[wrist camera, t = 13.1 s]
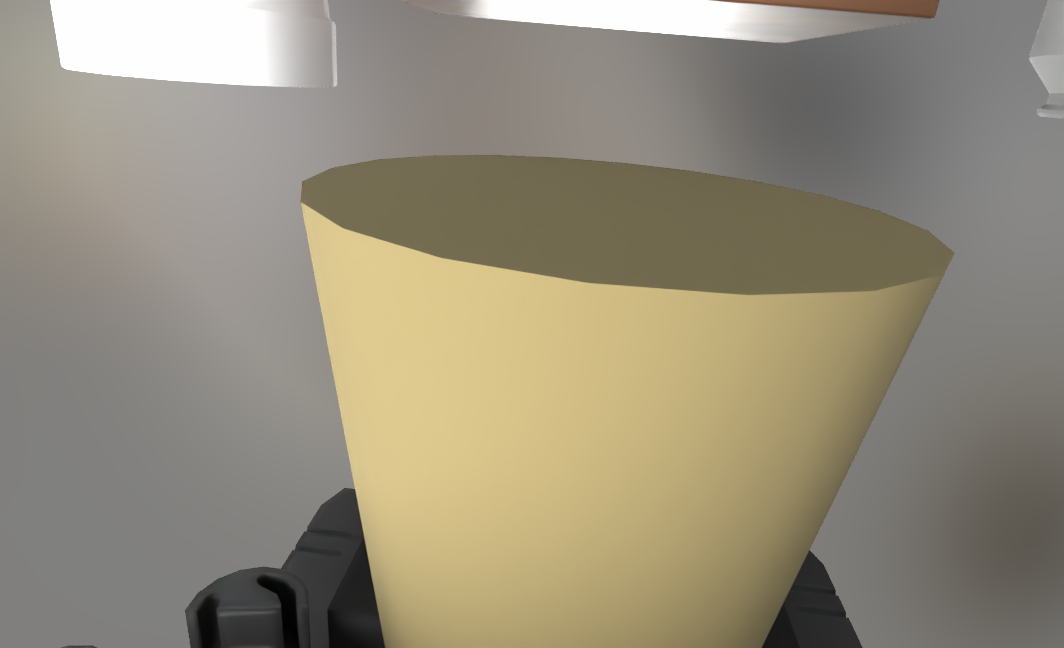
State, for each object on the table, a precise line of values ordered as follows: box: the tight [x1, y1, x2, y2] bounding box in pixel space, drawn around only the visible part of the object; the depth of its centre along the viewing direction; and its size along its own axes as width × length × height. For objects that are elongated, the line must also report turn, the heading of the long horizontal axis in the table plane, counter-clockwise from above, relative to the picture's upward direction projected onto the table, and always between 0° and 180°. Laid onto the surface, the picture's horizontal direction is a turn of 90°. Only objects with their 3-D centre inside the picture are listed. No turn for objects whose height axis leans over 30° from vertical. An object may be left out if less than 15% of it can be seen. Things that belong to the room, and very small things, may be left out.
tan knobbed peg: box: [301, 155, 954, 648], centre depth 9 cm, size 6×6×11 cm
